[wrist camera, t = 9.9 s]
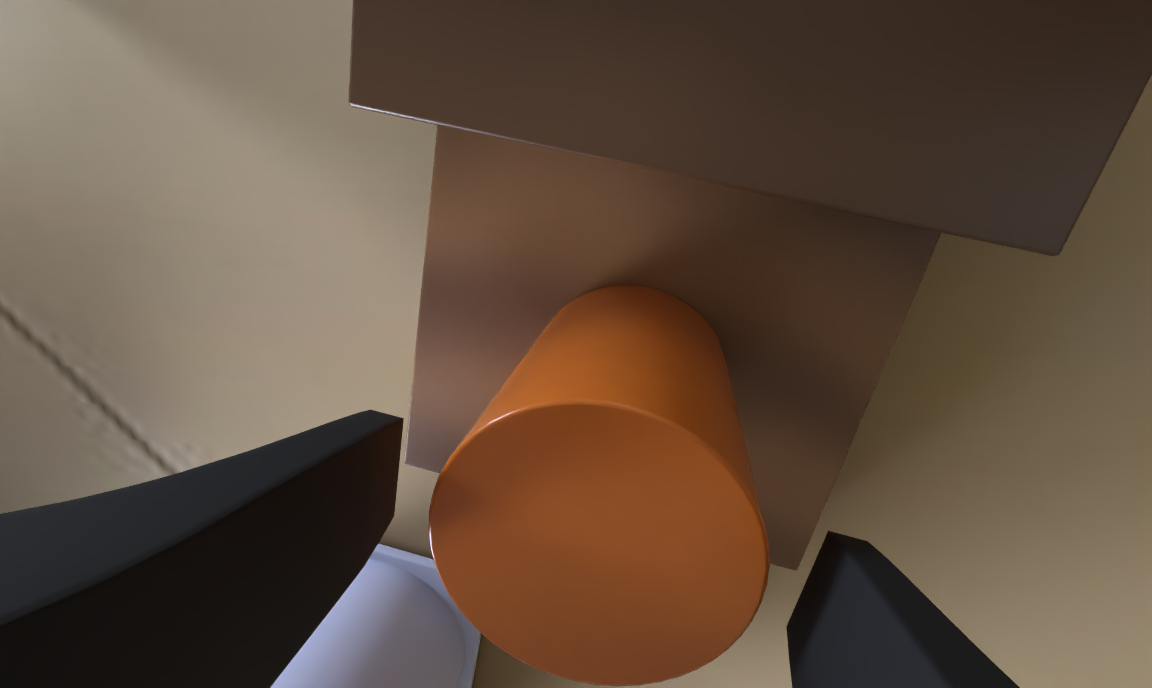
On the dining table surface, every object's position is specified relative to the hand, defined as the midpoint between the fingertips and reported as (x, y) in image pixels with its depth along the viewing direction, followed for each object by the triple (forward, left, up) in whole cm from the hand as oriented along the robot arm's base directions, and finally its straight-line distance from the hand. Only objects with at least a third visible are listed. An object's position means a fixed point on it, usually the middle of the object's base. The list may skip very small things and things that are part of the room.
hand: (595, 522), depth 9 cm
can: (0, 0, -6) cm, 6 cm away
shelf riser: (+4, 0, -8) cm, 9 cm away
